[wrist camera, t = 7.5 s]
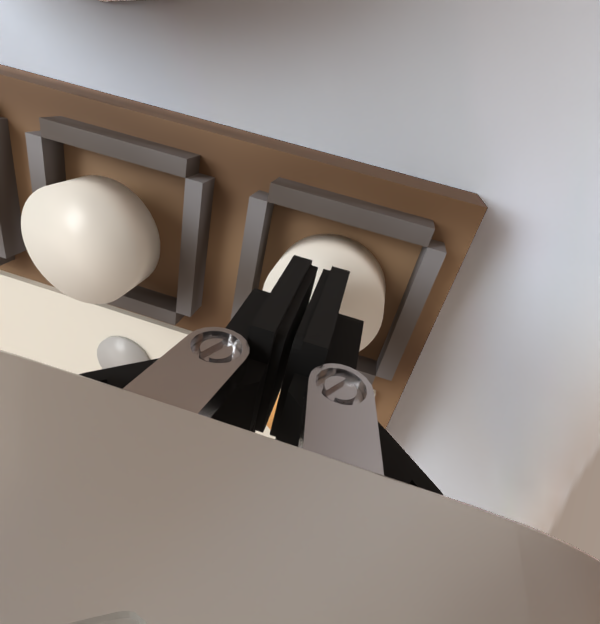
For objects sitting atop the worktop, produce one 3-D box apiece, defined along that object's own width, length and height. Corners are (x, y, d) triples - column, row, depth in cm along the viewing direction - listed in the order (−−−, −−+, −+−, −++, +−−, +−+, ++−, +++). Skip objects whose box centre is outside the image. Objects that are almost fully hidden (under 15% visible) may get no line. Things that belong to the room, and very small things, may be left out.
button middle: (52, 161, 14) (12, 168, 12) (162, 193, 13) (134, 204, 12) (62, 267, 16) (29, 284, 14) (157, 298, 15) (133, 318, 14)
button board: (-117, 32, 16) (-215, 20, 14) (477, 194, 14) (493, 216, 12) (-46, 306, 23) (-104, 333, 20) (367, 444, 21) (362, 493, 18)
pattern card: (-93, 240, 18) (-104, 243, 18) (375, 390, 17) (375, 398, 16) (-66, 329, 21) (-76, 334, 21) (343, 468, 19) (341, 477, 19)
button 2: (286, 219, 14) (273, 233, 12) (402, 252, 13) (401, 270, 12) (266, 317, 16) (253, 339, 14) (366, 348, 15) (362, 374, 14)
